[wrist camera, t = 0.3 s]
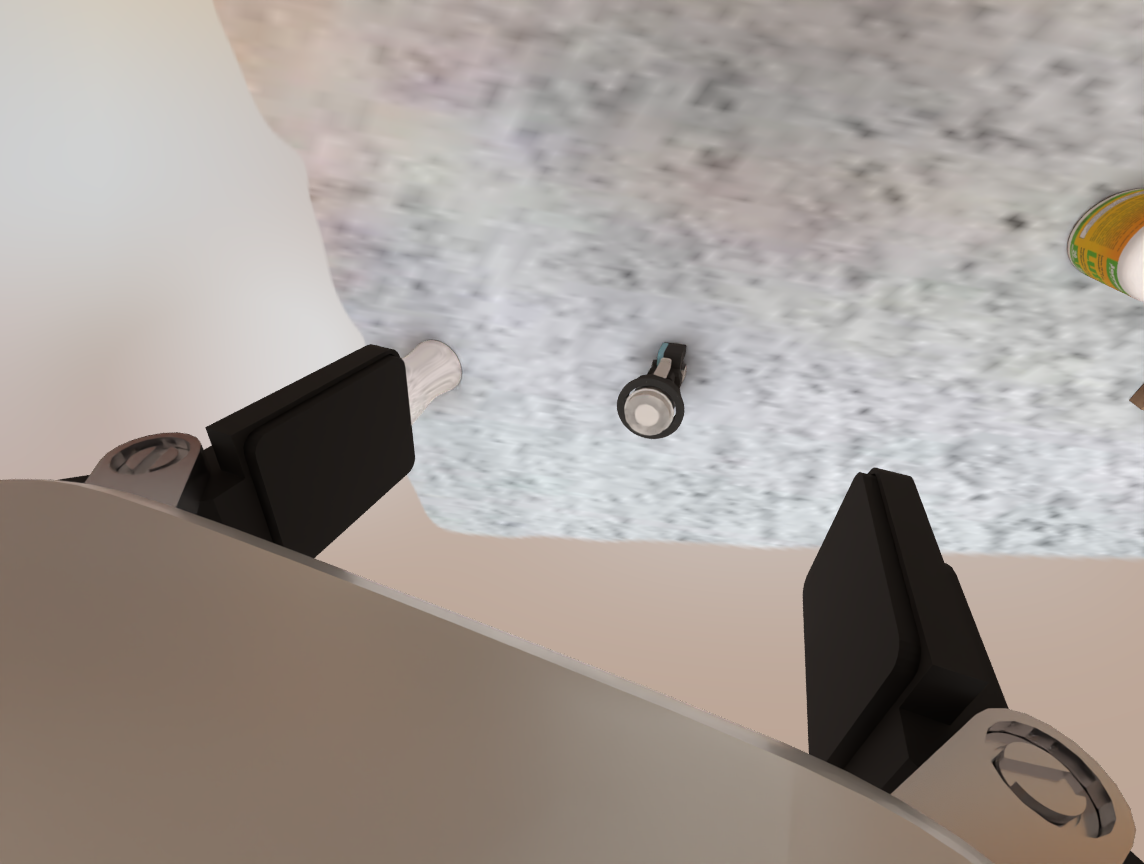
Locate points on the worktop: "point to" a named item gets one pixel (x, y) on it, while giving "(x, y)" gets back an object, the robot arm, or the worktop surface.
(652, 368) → the push button
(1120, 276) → the supplement bottle
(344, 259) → the worktop surface
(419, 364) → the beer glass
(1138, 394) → the collar board
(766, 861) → the robot arm
